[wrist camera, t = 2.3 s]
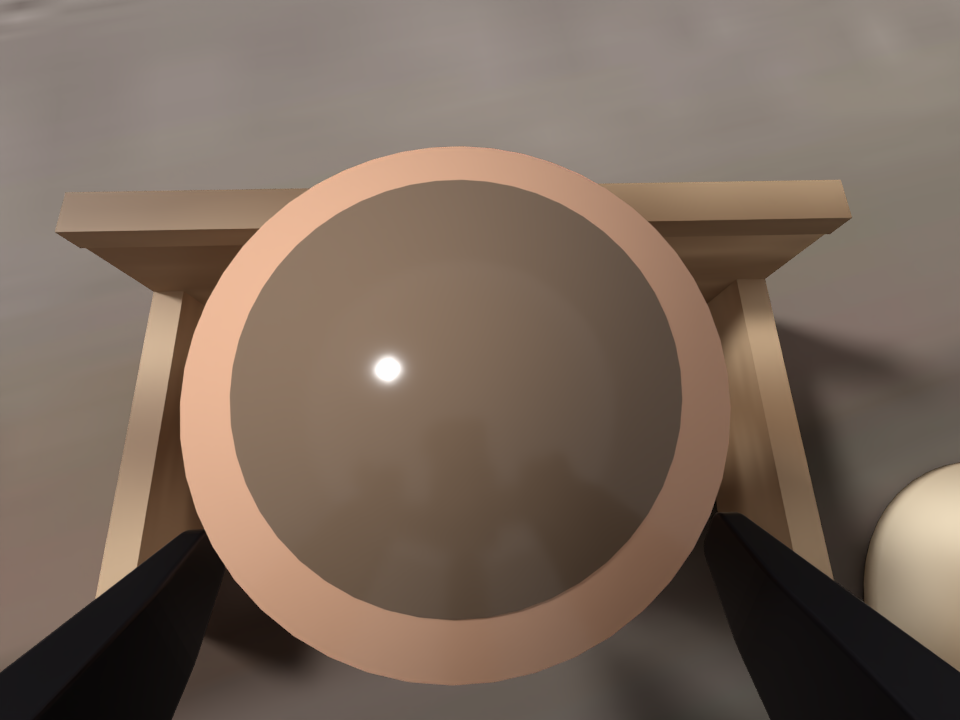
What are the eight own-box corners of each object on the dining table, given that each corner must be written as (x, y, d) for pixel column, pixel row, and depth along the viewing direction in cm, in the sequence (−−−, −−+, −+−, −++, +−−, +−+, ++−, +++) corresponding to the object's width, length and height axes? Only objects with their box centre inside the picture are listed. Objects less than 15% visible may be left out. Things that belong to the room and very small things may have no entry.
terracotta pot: (584, 490, 18) (851, 474, 5) (433, 583, 17) (317, 839, 4) (498, 348, 19) (545, 78, 7) (356, 425, 18) (104, 274, 6)
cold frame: (760, 603, 17) (993, 689, 9) (175, 624, 16) (-80, 733, 9) (704, 297, 20) (840, 179, 13) (220, 308, 20) (65, 192, 12)
